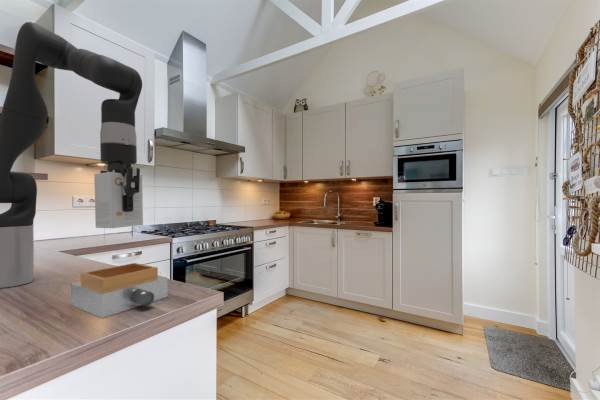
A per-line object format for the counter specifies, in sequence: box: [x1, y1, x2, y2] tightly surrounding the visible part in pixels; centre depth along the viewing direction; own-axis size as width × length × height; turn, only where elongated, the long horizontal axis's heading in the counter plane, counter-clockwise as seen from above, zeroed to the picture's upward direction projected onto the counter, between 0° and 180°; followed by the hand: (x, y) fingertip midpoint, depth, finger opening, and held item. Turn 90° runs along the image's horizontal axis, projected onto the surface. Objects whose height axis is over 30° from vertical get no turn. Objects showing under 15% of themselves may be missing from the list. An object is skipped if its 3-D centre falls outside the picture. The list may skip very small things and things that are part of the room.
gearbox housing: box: [70, 262, 168, 319], centre depth 69 cm, size 19×15×8 cm
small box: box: [93, 172, 144, 229], centre depth 70 cm, size 8×6×13 cm
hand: (119, 211), depth 70 cm, fingers closed on small box, 6 cm apart
